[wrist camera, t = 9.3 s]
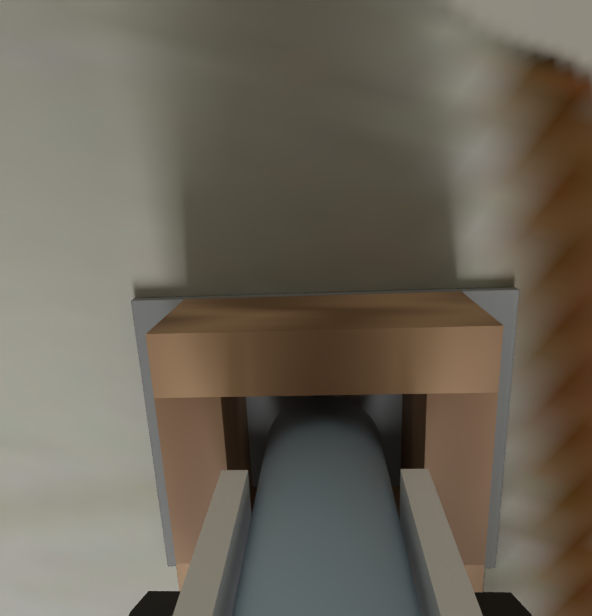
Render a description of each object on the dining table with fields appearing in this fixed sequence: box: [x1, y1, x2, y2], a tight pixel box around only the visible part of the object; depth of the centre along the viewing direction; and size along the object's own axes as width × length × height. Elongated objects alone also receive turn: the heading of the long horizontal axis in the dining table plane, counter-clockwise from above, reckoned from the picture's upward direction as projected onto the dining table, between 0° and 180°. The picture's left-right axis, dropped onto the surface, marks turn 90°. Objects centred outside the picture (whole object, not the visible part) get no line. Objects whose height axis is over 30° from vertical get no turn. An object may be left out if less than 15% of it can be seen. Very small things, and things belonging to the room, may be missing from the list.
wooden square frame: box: [145, 291, 503, 592], centre depth 16 cm, size 10×10×4 cm
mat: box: [131, 287, 519, 568], centre depth 19 cm, size 14×12×1 cm
